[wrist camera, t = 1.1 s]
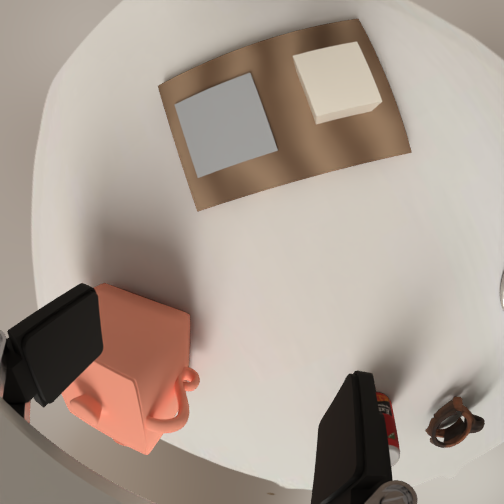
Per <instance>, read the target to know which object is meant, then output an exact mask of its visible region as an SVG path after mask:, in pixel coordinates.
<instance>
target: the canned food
mask: <svg viewBox="0 0 504 504" xmlns="http://www.w3.org/2000/svg"><path fill="white" fill-rule="evenodd" d="M376 395H377V401H378V408H379V412H381V413H383V415H384V417H385V423H386V429H387V436H388V444H389V452H390V460H391V467H392V466H393V465H395V464H396V463H397V462H398V460H399V458H400V450H399V442H398V436H397V430H396V425H395V419H394V414H393V409H392V404H391V401H390V400H389V398H388V397H387V396H386V395H384V394H383V393H379V392H376Z"/></svg>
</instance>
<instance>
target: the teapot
mask: <svg viewBox="0 0 504 504" xmlns="http://www.w3.org/2000/svg"><path fill="white" fill-rule="evenodd" d="M94 289H95V290H96V294H97V295H98V301H99V312H100V322H101V331H102V339H103V351H102V353H101V355H100V356H99V357H98V358H97V359H96V360H95V361H94V362H93V363H92V364H91V365H90V366H88V367H87V368H86V369H85V370H84V371H83V372H82V373H81V374H80V375H79V376H78V377H77V378H76V379H75V380H74V381H73V382H72V383H71V384H70V385H69V386H68V387H67V388H66V389H65V390H64V391H63V392H62V396H63V398H64V400H65V403H66V405H67V407H68V409H69V410H70V412H71V413H72V414H74V415H75V416H77V417H78V418H80V419H81V420H83V421H84V422H86V423H87V424H89V425H91V426H92V427H94V428H96V429H97V430H99V431H101V432H102V433H104V434H106V435H108V436H110V437H111V438H113V440H114V441H115V442H116V443H118V444H120V445H123V446H128V447H130V448H132V449H134V450H137V451H139V452H141V453H143V454H145V455H148V454H149V453H150V452H151V450H152V449H153V447H154V446H155V445H156V443H157V442H158V440H159V439H160V438H161V436H162V435H163V433H171V432H175V431H178V430H179V429H181V428H182V427H184V425H185V424H186V422H187V420H188V417H189V404H188V400H187V396H186V391H193V390H194V389H196V388H197V387H198V385H199V382H200V378H199V375H198V373H197V372H196V371H195V370H193V369H191V368H189V349H190V315H189V314H188V313H186V312H184V311H181V310H178V309H175V308H173V307H170V306H167V305H164V304H161V303H158V302H156V301H153V300H150V299H147V298H145V297H142V296H139V295H136V294H134V293H131V292H128V291H125V290H123V289H120V288H117V287H115V286H112V285H109V284H106V283H103V284H101V285H99V286H96V287H94ZM187 380H189V381H191V382H187ZM177 412H178V415H177V416H176V417H174V416H175V415H176V413H177Z"/></svg>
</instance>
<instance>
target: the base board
mask: <svg viewBox="0 0 504 504" xmlns="http://www.w3.org/2000/svg"><path fill="white" fill-rule="evenodd" d="M352 42H357V43H358V45H359V47H360V49H361V51H362V53H363V55H364V58H365V60H366V62H367V64H368V67H369V69H370V71H371V74H372V76H373V78H374V81H375V83H376V86H377V88H378V91H379V94H380V96H381V99H382V102H381V103H380V104H379V105H378V106H377V107H376V108H375V109H373V110H372V111H371V112H366V113H361V114H357V115H352V116H348V117H344V118H340V119H336V120H332V121H328V122H324V123H320V124H316V123H315V120H314V117H313V114H312V111H311V109H310V106H309V103H308V100H307V98H306V95H305V93H304V90H303V87H302V85H301V82H300V80H299V77H298V75H297V72H296V68H295V64H294V60H293V56H294V55H298V54H301V53H305V52H309V51H313V50H317V49H322V48H326V47H331V46H336V45H341V44H346V43H352ZM248 73H251V75H252V78H253V81H254V83H255V86H256V89H257V91H258V94H259V97H260V100H261V102H262V105H263V108H264V111H265V113H266V116H267V119H268V122H269V125H270V128H271V131H272V134H273V137H274V140H275V143H276V146H277V149H278V151H275V152H272V153H269V154H266V155H263V156H259V157H256V158H253V159H250V160H247V161H244V162H241V163H238V164H236V165H233V166H230V167H227V168H224V169H221V170H219V171H216V172H213V173H210V174H208V175H205V176H202V177H200V178H198V177H197V174H196V171H195V168H194V165H193V162H192V159H191V155H190V152H189V149H188V146H187V143H186V140H185V137H184V134H183V130H182V127H181V124H180V121H179V118H178V114H177V111H176V108H175V104H177V103H179V102H181V101H183V100H185V99H187V98H189V97H191V96H194V95H196V94H198V93H200V92H203V91H205V90H207V89H209V88H212V87H214V86H217V85H219V84H221V83H224V82H226V81H229V80H232V79H234V78H237V77H239V76H242V75H245V74H248ZM158 88H159V92H160V95H161V99H162V102H163V105H164V109H165V112H166V115H167V119H168V122H169V125H170V129H171V132H172V135H173V138H174V141H175V145H176V148H177V151H178V154H179V157H180V160H181V164H182V167H183V170H184V173H185V176H186V179H187V182H188V185H189V188H190V191H191V194H192V197H193V200H194V203H195V206H196V209H197V212H198V211H201V210H204V209H207V208H210V207H213V206H216V205H219V204H222V203H225V202H228V201H231V200H235V199H238V198H241V197H244V196H247V195H251V194H254V193H257V192H260V191H264V190H267V189H270V188H274V187H277V186H281V185H284V184H288V183H291V182H295V181H298V180H302V179H305V178H309V177H313V176H316V175H320V174H324V173H328V172H331V171H335V170H339V169H343V168H347V167H351V166H355V165H359V164H363V163H367V162H372V161H376V160H380V159H384V158H389V157H393V156H398V155H402V154H407V153H412V152H411V148H410V145H409V141H408V138H407V134H406V131H405V128H404V125H403V122H402V118H401V115H400V112H399V110H398V107H397V104H396V101H395V98H394V96H393V93H392V90H391V88H390V85H389V83H388V80H387V78H386V75H385V73H384V71H383V68H382V66H381V64H380V61H379V59H378V57H377V55H376V53H375V50H374V48H373V46H372V44H371V42H370V40H369V38H368V36H367V34H366V32H365V30H364V28H363V26H362V25H361V23H360V21H359V19H352V20H346V21H340V22H334V23H329V24H324V25H319V26H315V27H310V28H306V29H302V30H298V31H294V32H291V33H287V34H283V35H280V36H276V37H273V38H270V39H267V40H263V41H260V42H257V43H254V44H252V45H249V46H246V47H243V48H240V49H238V50H235V51H232V52H230V53H227V54H225V55H222V56H220V57H217V58H215V59H213V60H210V61H208V62H206V63H203V64H201V65H199V66H197V67H195V68H192V69H190V70H188V71H186V72H184V73H182V74H180V75H178V76H176V77H174V78H172V79H170V80H168V81H166V82H164V83H162V84H161V85H159V86H158Z"/></svg>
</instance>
